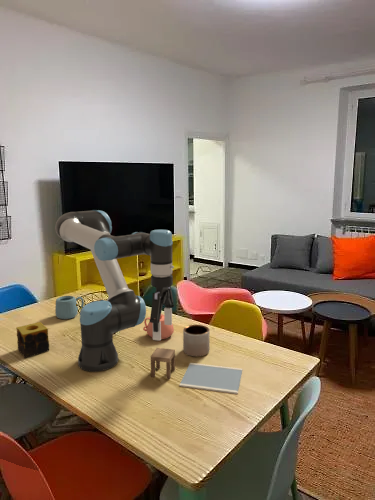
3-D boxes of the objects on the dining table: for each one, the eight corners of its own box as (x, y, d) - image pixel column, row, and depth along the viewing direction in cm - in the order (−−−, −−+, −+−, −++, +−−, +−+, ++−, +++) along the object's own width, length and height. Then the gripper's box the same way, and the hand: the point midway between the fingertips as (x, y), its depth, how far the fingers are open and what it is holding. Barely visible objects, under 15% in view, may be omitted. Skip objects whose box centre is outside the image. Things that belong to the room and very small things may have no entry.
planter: (207, 358, 149) (207, 336, 147) (180, 356, 151) (180, 333, 149) (211, 346, 159) (211, 325, 158) (186, 344, 162) (186, 323, 160)
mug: (79, 309, 204) (78, 291, 202) (88, 315, 196) (87, 296, 194) (52, 316, 195) (51, 297, 193) (60, 322, 186) (59, 303, 184)
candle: (24, 358, 150) (22, 335, 148) (17, 349, 157) (14, 327, 155) (50, 351, 156) (48, 328, 154) (41, 343, 164) (40, 321, 162)
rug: (179, 386, 130) (179, 384, 130) (190, 363, 145) (190, 362, 145) (237, 393, 125) (237, 392, 125) (242, 370, 140) (242, 368, 140)
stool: (151, 376, 136) (150, 356, 134) (157, 367, 142) (156, 347, 141) (169, 379, 134) (169, 358, 132) (175, 369, 141) (174, 349, 139)
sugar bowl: (170, 342, 163) (170, 320, 162) (139, 340, 166) (139, 318, 164) (176, 331, 175) (175, 310, 173) (147, 329, 178) (146, 308, 176)
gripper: (161, 285, 118) (162, 348, 122) (181, 266, 142) (181, 319, 146) (138, 283, 120) (140, 345, 124) (162, 265, 144) (163, 318, 148)
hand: (162, 331), depth 135 cm, fingers open, 13 cm apart
